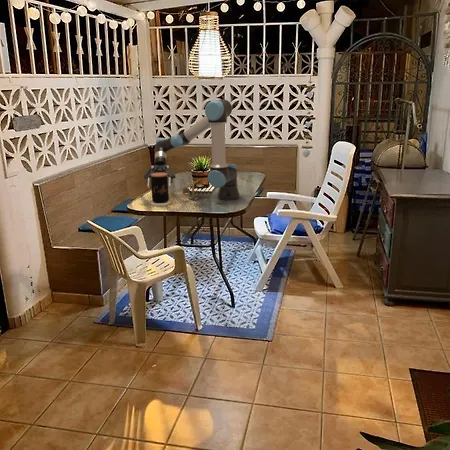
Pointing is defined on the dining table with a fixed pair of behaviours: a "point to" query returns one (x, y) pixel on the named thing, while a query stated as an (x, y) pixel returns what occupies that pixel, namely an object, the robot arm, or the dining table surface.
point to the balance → (186, 190)
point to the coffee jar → (159, 187)
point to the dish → (160, 204)
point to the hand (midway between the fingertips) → (159, 187)
